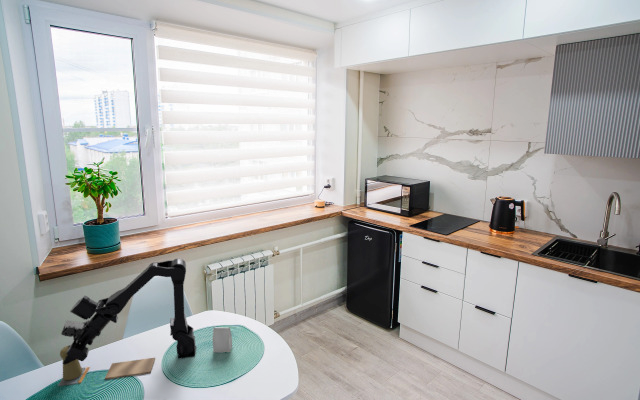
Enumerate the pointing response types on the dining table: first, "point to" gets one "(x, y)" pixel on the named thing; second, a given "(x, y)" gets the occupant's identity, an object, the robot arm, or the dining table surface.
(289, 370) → the dining table surface
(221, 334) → the grey rectangular block
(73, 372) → the cork
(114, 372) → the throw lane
